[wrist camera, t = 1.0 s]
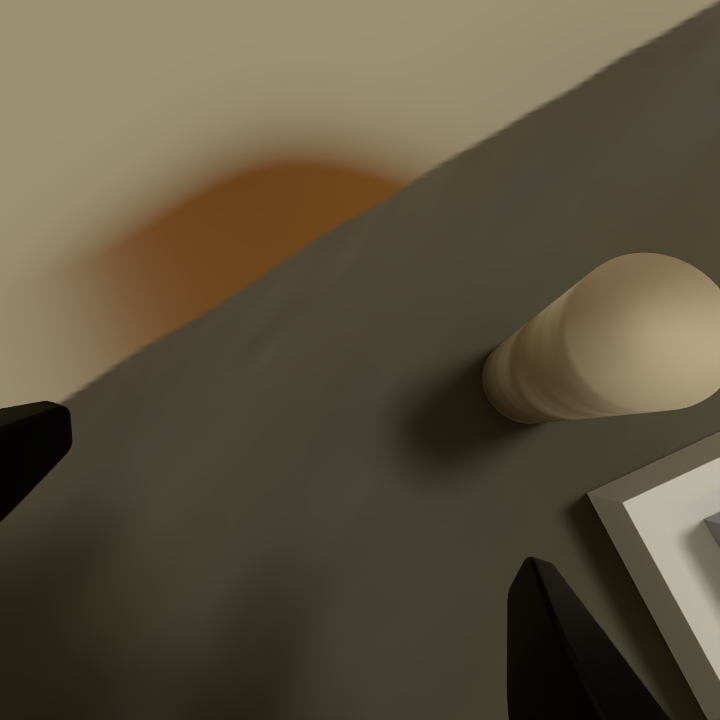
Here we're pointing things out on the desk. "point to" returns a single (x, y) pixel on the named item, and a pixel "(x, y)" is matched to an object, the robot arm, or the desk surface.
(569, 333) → the beige domed cylinder
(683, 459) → the housing
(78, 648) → the desk surface
